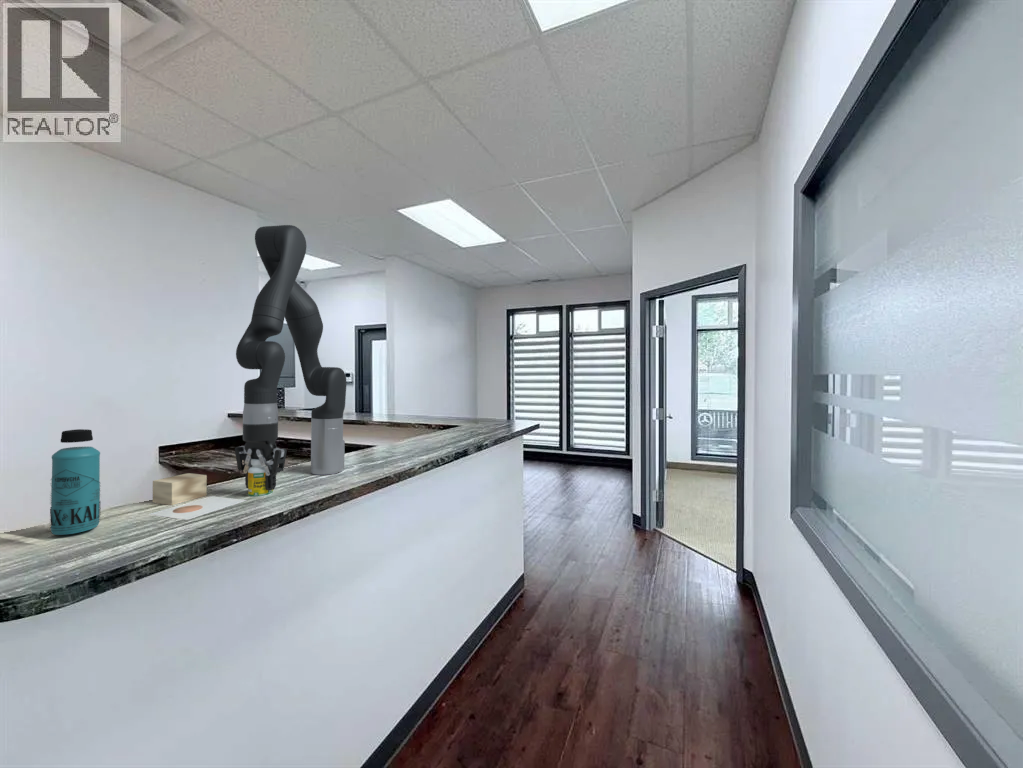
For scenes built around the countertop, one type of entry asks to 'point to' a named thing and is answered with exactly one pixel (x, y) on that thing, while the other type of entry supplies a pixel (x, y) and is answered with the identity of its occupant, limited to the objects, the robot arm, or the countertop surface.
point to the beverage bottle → (75, 485)
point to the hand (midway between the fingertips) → (260, 488)
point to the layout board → (197, 507)
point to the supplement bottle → (257, 480)
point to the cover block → (179, 488)
